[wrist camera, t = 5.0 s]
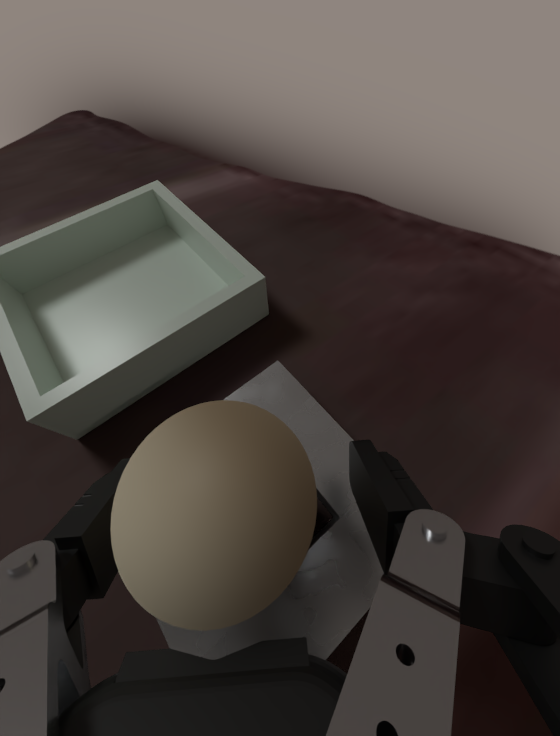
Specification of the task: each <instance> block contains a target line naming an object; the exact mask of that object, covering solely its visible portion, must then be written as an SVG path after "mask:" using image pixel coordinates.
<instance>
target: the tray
mask: <svg viewBox="0 0 560 736" xmlns="http://www.w3.org/2000/svg"><path fill="white" fill-rule="evenodd" d="M267 315H269V309H268V299H267V289H266V279H265V276H264V275H262V274H261V273H260V272H259V271H258V270H257V269H256V268H255V267H254V266H252V265H251V264H250V263H249V262H248V261H247V260H246V259H245V258H244V257H242V256H241V255H240V254H239V253H238V252H237V251H236V250H235V249H234V248H232V247H231V246H230V245H229V244H228V243H227V242H226V241H225V240H224V239H222V238H221V237H220V236H219V235H218V234H217V233H216V232H215V231H214V230H212V229H211V228H210V227H209V226H208V225H207V224H206V223H205V222H204V221H202V220H201V219H200V218H199V217H198V216H197V215H196V214H195V213H194V212H192V211H191V210H190V209H189V208H188V207H187V206H186V205H185V204H184V203H182V202H181V201H180V200H179V199H178V198H177V197H176V196H175V195H174V194H172V193H171V192H170V191H169V190H168V189H167V188H166V187H165V186H164V185H162V184H161V183H160V182H159V181H158V180H157V181H154V182H152V183H150V184H147V185H145V186H143V187H140V188H138V189H135V190H133V191H131V192H128V193H126V194H124V195H121V196H119V197H117V198H114V199H112V200H110V201H107V202H105V203H103V204H100V205H98V206H95V207H93V208H91V209H88V210H86V211H84V212H81V213H79V214H77V215H74V216H72V217H70V218H67V219H65V220H63V221H60V222H58V223H55V224H53V225H51V226H48V227H46V228H44V229H41V230H39V231H37V232H34V233H32V234H30V235H27V236H25V237H22V238H20V239H18V240H15V241H13V242H11V243H8V244H6V245H4V246H1V247H0V352H1V355H2V357H3V360H4V363H5V365H6V368H7V371H8V373H9V376H10V378H11V381H12V384H13V386H14V389H15V392H16V394H17V397H18V399H19V402H20V405H21V407H22V410H23V413H24V415H25V418H26V420H27V422H30V423H33V424H36V425H38V426H41V427H44V428H47V429H49V430H52V431H55V432H58V433H60V434H63V435H66V436H69V437H71V438H74V439H77V440H78V439H79V438H81V437H82V436H84V435H85V434H87V433H88V432H90V431H92V430H93V429H95V428H96V427H98V426H99V425H101V424H102V423H104V422H105V421H107V420H108V419H110V418H111V417H113V416H114V415H116V414H117V413H119V412H121V411H122V410H124V409H125V408H127V407H128V406H130V405H131V404H133V403H134V402H136V401H137V400H139V399H140V398H142V397H143V396H145V395H146V394H148V393H150V392H151V391H153V390H154V389H156V388H157V387H159V386H160V385H162V384H163V383H165V382H166V381H168V380H169V379H171V378H172V377H174V376H175V375H177V374H179V373H180V372H182V371H183V370H185V369H186V368H188V367H189V366H191V365H192V364H194V363H195V362H197V361H198V360H200V359H201V358H203V357H204V356H206V355H208V354H209V353H211V352H212V351H214V350H215V349H217V348H218V347H220V346H221V345H223V344H224V343H226V342H227V341H229V340H230V339H232V338H234V337H235V336H237V335H238V334H240V333H241V332H243V331H244V330H246V329H247V328H249V327H250V326H252V325H253V324H255V323H256V322H258V321H259V320H261V319H263V318H264V317H266V316H267Z"/></svg>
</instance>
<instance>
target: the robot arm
mask: <svg viewBox="0 0 560 736" xmlns="http://www.w3.org/2000/svg"><path fill="white" fill-rule="evenodd" d="M129 460H130V458H128V459H122V460H121V461H120V462H119V463H118V464H117V465H116V467H115V468H114V469H113V470H112V471H111V472H110V473H109V474H106V475H105V476H103V477H102V478H100V479H99V480H98V481H96V482H95V483H93V485H92V486H91V487H90V488H89V489H88V490H87V491H86V492H85V493H84V496H83V497H81V498H80V499H79V500H78V501H77V502H76V504H75V506H73V507H72V508H71V509H70V510H69V511H68V513H67V514H66V515H65V516H64V517H63V518H62V519H61V520H60V522H59V523H58V524H57V525H56V526H55V527H54V528H53V529H52V530H51V532H50V533H49V534H48V535H47V536H46V537H45V538H44V539H43V541H37V542H33V543H30V544H28V545H25V546H23V547H21V548H19V549H17V550H16V551H14V552H12V553H11V554H10V555H8V556H7V557H5V558H4V559H3V560H2V561H0V736H451V728H452V715H453V703H454V691H455V678H456V666H457V654H458V641H459V629H460V624H464V625H467V626H471V627H474V628H478V629H482V630H485V631H489V632H493V633H494V635H495V637H496V639H497V640H498V642H499V644H500V645H501V647H502V649H503V650H504V652H505V654H506V656H507V657H508V659H509V661H510V662H511V664H512V666H513V668H514V669H515V671H516V673H517V674H518V676H519V678H520V679H521V681H522V683H523V685H524V686H525V688H526V690H527V691H528V693H529V695H530V696H531V698H532V700H533V702H534V703H535V705H536V707H537V708H538V710H539V712H540V714H541V715H542V717H543V719H544V720H545V722H546V724H547V725H548V727H549V729H550V731H551V732H552V734H553V736H560V541H558V540H557V539H555V538H554V537H552V536H550V535H549V534H547V533H545V532H543V531H540V530H538V529H535V528H532V527H528V526H524V525H509V526H506V527H505V528H503V529H502V531H501V534H500V539H498V538H493V537H488V536H482V535H477V534H472V533H467V532H464V531H462V529H461V528H460V527H459V525H458V524H457V523H456V522H454V521H453V520H452V519H451V518H449V517H448V516H446V515H444V514H442V513H439V512H437V511H434V510H433V509H432V508H431V506H430V505H429V503H428V502H427V501H426V499H425V498H424V497H423V495H422V494H421V492H420V491H419V490H418V488H417V487H416V485H415V484H414V483H413V481H412V480H410V477H409V476H408V474H407V473H406V471H404V469H403V467H402V466H401V464H400V463H399V462H398V460H397V459H396V458H394V457H393V456H391V455H390V454H388V453H387V452H378V451H377V450H376V448H375V447H374V445H373V444H372V442H371V441H370V440H358V441H350V443H349V479H350V486H351V490H352V493H353V495H354V498H355V500H356V503H357V506H358V508H359V511H360V513H361V516H362V518H363V521H364V524H365V526H366V529H367V531H368V534H369V536H370V539H371V542H372V544H373V547H374V549H375V552H376V554H377V557H378V559H379V562H380V565H381V567H382V570H383V572H384V574H383V575H382V577H381V579H380V582H379V584H378V587H377V590H376V593H375V596H374V599H373V602H372V605H371V607H370V610H369V613H368V616H367V619H366V622H365V625H364V627H363V630H362V633H361V636H360V639H359V642H358V645H357V648H356V650H355V653H354V656H353V659H352V662H351V665H350V668H349V671H348V673H347V674H346V673H345V672H344V671H342V670H341V669H340V668H338V667H337V666H335V665H333V664H332V663H330V662H329V661H326V660H324V659H322V658H319V657H317V656H313V655H309V654H308V648H307V638H306V637H300V638H289V639H277V640H265V641H261V642H258V643H256V644H253V645H251V646H248V647H246V648H244V649H241V650H239V651H236V652H234V653H231V654H229V655H227V656H224V657H222V658H219V659H216V660H211V659H207V658H203V657H199V656H196V655H192V654H188V653H185V652H181V651H177V650H174V649H161V650H149V651H138V652H126V655H125V657H124V660H123V662H122V665H121V667H120V670H119V672H118V673H117V674H115V675H113V676H111V677H109V678H107V679H105V680H103V681H102V682H100V683H99V684H97V685H96V686H94V687H93V688H91V685H90V680H89V672H88V662H87V652H86V642H85V633H84V623H83V615H82V612H81V610H80V609H81V608H82V606H83V604H84V603H85V601H86V600H87V599H99V598H104V596H105V594H106V592H107V590H108V589H109V587H110V585H111V583H112V581H113V579H114V577H115V575H116V574H117V572H118V568H117V566H116V563H115V560H114V555H113V550H112V545H111V530H110V528H111V512H112V507H113V501H114V497H115V493H116V490H117V486H118V483H119V481H120V478H121V476H122V473H123V471H124V469H125V467H126V465H127V464H128V462H129Z"/></svg>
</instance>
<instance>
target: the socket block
mask: <svg viewBox="0 0 560 736" xmlns="http://www.w3.org/2000/svg"><path fill="white" fill-rule="evenodd" d="M224 400H231V401H239V402H245V403H249V404H252V405H255V406H258V407H260V408H262V409H265V410H267V411H268V412H270V413H272V414H273V415H275V416H276V417H277V418H279V419H280V420H281V421H283V422H284V423H285V424H286V425H287V426H288V427H289V428H290V429H291V430H292V431H293V433H294V434H295V435H296V437H297V438H298V439H299V441H300V442H301V444H302V446H303V448H304V450H305V451H306V453H307V456H308V458H309V461H310V463H311V466H312V470H313V473H314V477H315V483H316V490H317V498H318V499H319V500H320V501H321V503H322V504H323V505H324V506H325V508H326V509H327V510H328V511H329V513H330V514H331V515H332V516H333V518H332V519H331V520H330V521H329V522H328V523H327V524H326V525H325V526H324V527H323V528H322V529H321V530H320V531H319V532H318V533H317V534H316V535H315V536H314V537H313V538H312V540H311V543H310V546H309V549H308V552H307V554H306V557H305V559H304V561H303V563H302V565H301V567H300V569H299V570H298V572H297V573H296V575H295V577H294V578H293V580H292V581H291V583H290V584H289V585H288V586H287V587H286V589H285V590H284V591H283V592H282V593H281V594H280V596H279V597H278V598H276V599H275V600H274V601H273V602H272V603H271V604H270V605H269V606H268V607H266V608H265V609H263V610H262V611H260V612H259V613H257V614H256V615H254V616H253V617H251V618H249V619H247V620H245V621H243V622H241V623H238V624H236V625H233V626H229V627H226V628H222V629H216V630H207V631H201V630H188V629H184V628H180V627H175V626H172V625H170V624H168V623H166V622H163V621H161V620H159V619H158V618H156V619H157V621H158V623H159V625H160V627H161V630H162V632H163V634H164V636H165V638H166V641H167V643H168V645H169V647H170V649H174V650H177V651H181V652H185V653H188V654H192V655H196V656H199V657H203V658H207V659H211V660H216V659H219V658H222V657H224V656H227V655H229V654H231V653H234V652H236V651H239V650H241V649H244V648H246V647H248V646H251V645H253V644H256V643H258V642H261V641H265V640H277V639H289V638H300V637H306V638H307V648H308V654H309V655H313V656H317V657H319V658H322V659H324V660H326V659H327V658H328V657H329V655H330V654H331V653H332V652H333V651H334V650H335V648H336V647H337V646H338V645H339V644H340V642H341V641H342V640H343V639H344V638H345V637H346V635H347V634H348V633H349V632H350V631H351V630H352V628H353V627H354V626H355V625H356V624H357V622H358V621H359V620H360V619H361V618H362V617H363V615H364V614H365V613H366V612H367V611H368V609H369V608H370V607H371V605H372V602H373V599H374V596H375V593H376V590H377V587H378V584H379V582H380V579H381V577H382V575H383V574H384V572H383V570H382V567H381V565H380V562H379V559H378V557H377V554H376V552H375V549H374V547H373V544H372V542H371V539H370V536H369V534H368V531H367V529H366V526H365V524H364V521H363V518H362V516H361V513H360V511H359V508H358V506H357V503H356V500H355V498H354V495H353V493H352V490H351V486H350V479H349V443H350V441H354V440H353V439H352V438H351V437H350V436H349V435H348V434H347V433H346V432H345V431H344V430H343V429H342V428H341V427H340V426H339V425H338V423H337V422H336V421H335V420H334V419H333V418H332V417H331V416H330V415H329V414H328V413H327V412H326V411H325V410H324V409H323V408H322V407H321V405H320V404H319V403H318V402H317V401H316V400H315V399H314V398H313V397H312V396H311V395H310V394H309V393H308V392H307V391H306V390H305V389H304V388H303V386H302V385H301V384H300V383H299V382H298V381H297V380H296V379H295V378H294V377H293V376H292V375H291V374H290V373H289V372H288V371H287V370H286V369H285V367H284V366H283V365H282V364H281V363H280V362H279V361H276V362H275V363H274V364H272V365H271V366H269V367H268V368H267V369H265V370H264V371H263V372H261V373H260V374H258V375H257V376H256V377H254V378H253V379H251V380H250V381H249V382H247V383H246V384H244V385H243V386H242V387H240V388H239V389H238V390H236V391H235V392H233V393H232V394H231V395H229V396H228V397H226V398H225V399H224Z"/></svg>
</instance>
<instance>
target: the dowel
mask: <svg viewBox="0 0 560 736" xmlns="http://www.w3.org/2000/svg"><path fill="white" fill-rule="evenodd" d="M316 513H317V490H316V483H315V477H314V473H313V470H312V466H311V463H310V461H309V458H308V456H307V453H306V451H305V450H304V448H303V446H302V444H301V442H300V441H299V439H298V438H297V437H296V435H295V434H294V433H293V431H292V430H291V429H290V428H289V427H288V426H287V425H286V424H285V423H284V422H283V421H281V420H280V419H279V418H277V417H276V416H275V415H273V414H272V413H270V412H268V411H267V410H265V409H262V408H260V407H258V406H255V405H252V404H249V403H245V402H239V401H231V400H220V401H210V402H206V403H201V404H198V405H195V406H192V407H189V408H187V409H184V410H182V411H180V412H178V413H176V414H175V415H173V416H171V417H170V418H168V419H167V420H165V421H164V422H163V423H161V424H160V425H159V426H158V427H156V428H155V429H154V430H153V431H152V432H151V433H150V434H149V435H148V436H147V437H146V438H145V439H144V441H143V442H142V443H141V444H140V445H139V447H138V448H137V449H136V451H135V452H134V454H133V455H132V457H131V458H130V460H129V462H128V464H127V465H126V467H125V469H124V471H123V473H122V476H121V478H120V481H119V483H118V486H117V490H116V493H115V497H114V501H113V507H112V512H111V528H110V530H111V545H112V550H113V555H114V560H115V563H116V566H117V568H118V571H119V574H120V576H121V578H122V580H123V582H124V584H125V586H126V588H127V589H128V591H129V592H130V593H131V595H132V596H133V597H134V599H135V600H136V601H137V602H138V603H139V604H140V605H141V606H142V607H143V608H144V609H145V610H146V611H147V612H149V613H150V614H152V615H153V616H155V617H156V618H158V619H159V620H161V621H163V622H166V623H168V624H170V625H172V626H175V627H180V628H184V629H188V630H201V631H207V630H216V629H222V628H226V627H229V626H233V625H236V624H238V623H241V622H243V621H245V620H247V619H249V618H251V617H253V616H254V615H256V614H257V613H259V612H260V611H262V610H263V609H265V608H266V607H268V606H269V605H270V604H271V603H272V602H273V601H274V600H275V599H276V598H278V597H279V596H280V594H281V593H282V592H283V591H284V590H285V589H286V587H287V586H288V585H289V584H290V583H291V581H292V580H293V578H294V577H295V575H296V573H297V572H298V570H299V569H300V567H301V565H302V563H303V561H304V559H305V557H306V554H307V552H308V549H309V546H310V543H311V540H312V537H313V532H314V528H315V523H316Z"/></svg>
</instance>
